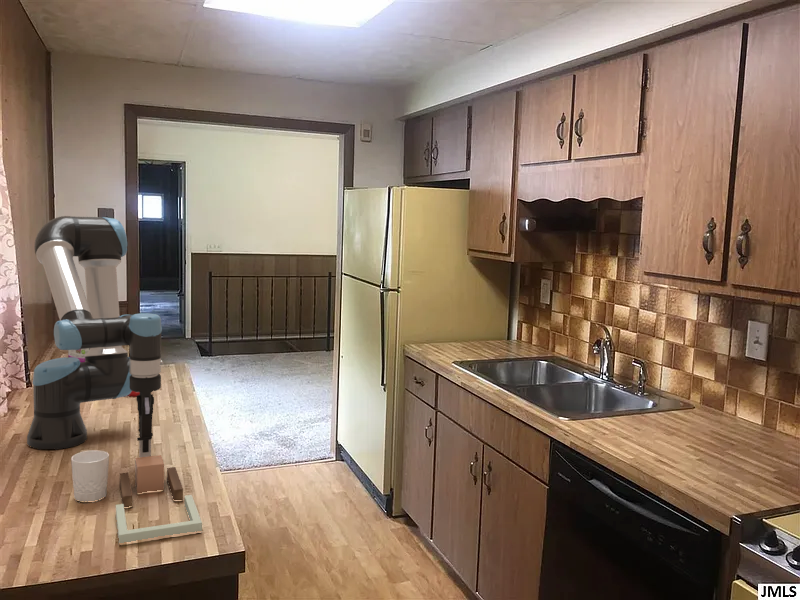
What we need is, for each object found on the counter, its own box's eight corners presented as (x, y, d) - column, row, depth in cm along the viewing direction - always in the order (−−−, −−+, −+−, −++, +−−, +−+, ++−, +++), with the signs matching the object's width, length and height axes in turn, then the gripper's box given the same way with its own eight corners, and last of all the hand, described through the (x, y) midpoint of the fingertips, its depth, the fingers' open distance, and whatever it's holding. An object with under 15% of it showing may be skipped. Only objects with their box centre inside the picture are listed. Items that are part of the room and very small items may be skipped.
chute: (122, 509, 148) (122, 496, 147) (119, 485, 160) (119, 473, 160) (182, 501, 154) (183, 488, 153) (175, 478, 166) (175, 466, 166)
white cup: (114, 490, 157) (114, 450, 156) (100, 505, 149) (100, 463, 148) (81, 489, 157) (80, 449, 155) (65, 503, 149) (64, 461, 148)
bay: (119, 546, 132) (119, 535, 132) (115, 515, 145) (115, 504, 145) (201, 533, 139) (202, 522, 139) (191, 504, 152) (191, 494, 152)
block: (137, 495, 156) (137, 466, 155) (135, 485, 161) (135, 457, 160) (163, 491, 158) (164, 463, 157) (161, 481, 164) (161, 455, 163)
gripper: (163, 379, 163) (163, 469, 166) (158, 367, 175) (157, 452, 178) (131, 381, 160) (131, 473, 163) (127, 369, 172) (127, 455, 175)
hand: (145, 462), depth 171 cm, fingers closed
